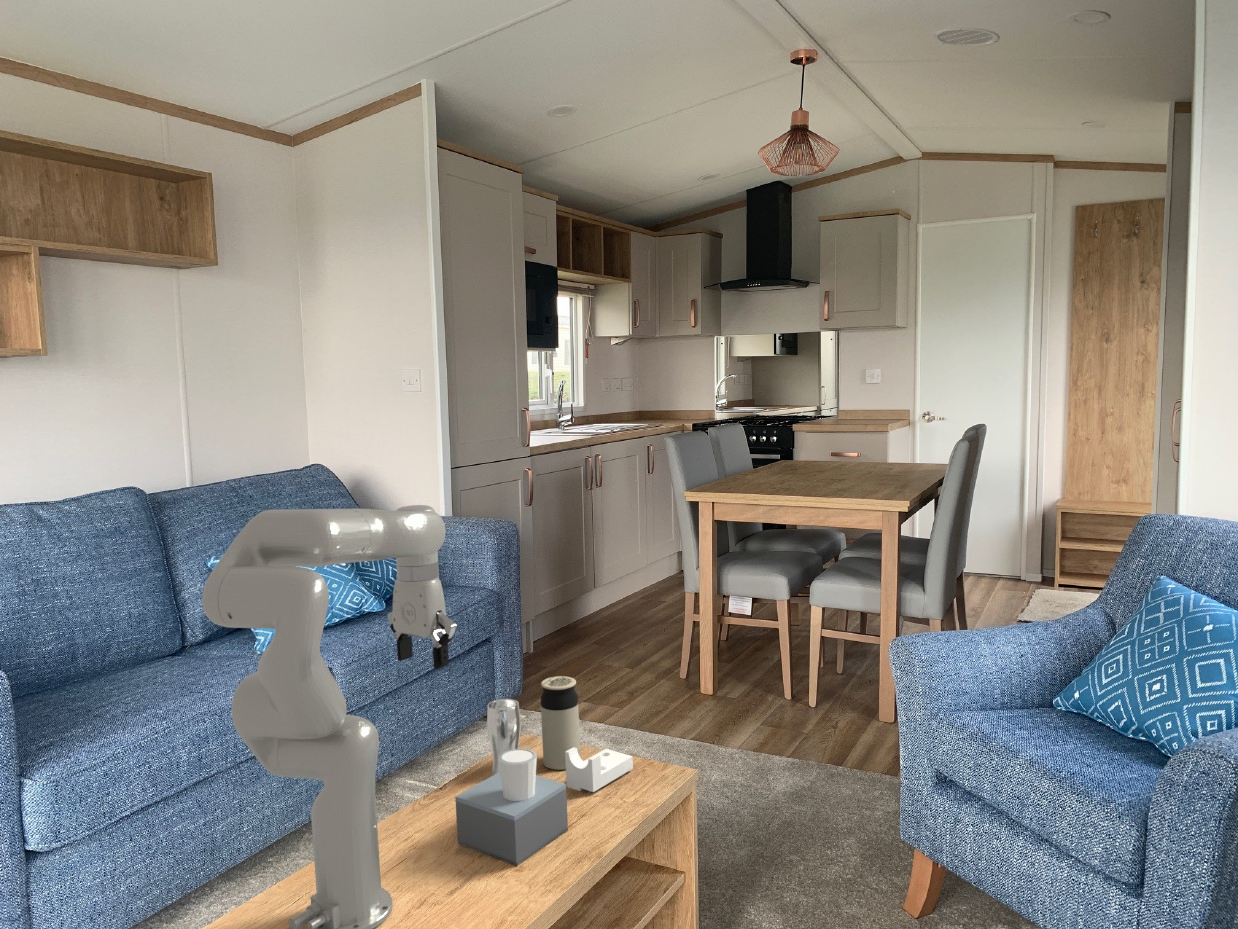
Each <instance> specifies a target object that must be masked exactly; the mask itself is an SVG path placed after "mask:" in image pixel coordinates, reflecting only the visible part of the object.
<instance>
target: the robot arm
mask: <svg viewBox="0 0 1238 929" xmlns="http://www.w3.org/2000/svg"><path fill="white" fill-rule="evenodd" d="M446 532H447V531H446V525H445V522H444V520H443V518H442V517H441V515H440V514H439V513H437V512H436V511H435V509H434V508H433V507H432V506H430V505H425V504H417V505H415V504H413V505H406V506H401V507H399V508H397V509H396V510H387V509H385V510H383V509H372V508H310V509H309V508H307V509H306V508H305V509H304V508H303V509H301V508H298V509H297V508H296V509H294V508H293V509H292V508H291V509H287V508H286V509H279V508H278V509H266V510H263V511H261V512H259V513H257V514H256V515H255V516H253V517H252V518H251V519H250V520H249V521H248V522H247V523H246V524H245V526H244V527H243V528H241V530H240V531H239V533H238V534H237V535H236V537H235V538H234V540H233V541H232V542H231V543H230V545H229V546H228V548H227V549H226V551H225V552H224V553H223V555H222V557H221V558H220V559H219V561H218V562H217V563H216V565H215V566H214V568H213V569H212V571H211V572H210V574H209V576H208V578H207V579H206V581H205V584H204V587H203V590H202V599H201V601H202V602H201V604H202V608H203V612H204V615H205V616H206V617H207V619H209V621H211V622H212V623H214V624H215V625H216V626H220V627H224V628H232V629H233V628H235V629H239V628H241V629H264V630H265V629H266V630H267V629H268V630H270V629H271V630H273V629H274V630H275V632H274V634H273V637H272V639H271V641H270V643H269V644H268V646H267V647H266V648H265V649H264V651H263V653H262V654H261V657H260V659H259V661H258V665H257V671H256V672H253V673H250V674H249V675H247V676H246V677H244V678H243V679H242V680H241V681H240V682H239V684H238V685H237V687H236V688H235V690H234V693H233V696H232V700H231V717H232V722H233V725H234V728H235V730H236V732H237V734H238V736H239V737H240V739H241V740H242V741H243V742H244V744H245V745H246V746H247V748H248V749H249V750H250V752H251V753H252V754H253V756H254V757H255V758H256V760H258V762H259V763H260V764H261V766H262V767H263V768H264V769H265V770H266V771H267V772H269V773H270V774H272V775H274V776H278V777H283V778H295V779H296V778H297V779H298V778H299V779H312V780H318V781H321V782H323V783H324V784H323V788H322V790H321V791H320V792H319V793H318V795H317V796H316V798H315V799H314V801H313V803H312V805H311V816H310V817H311V828H312V844H313V846H312V847H313V859H314V874H315V875H314V876H315V888H316V889H315V890H316V893H315V894H313V895H311V896H310V899H309V900H310V904H309V905H308V906H306V908H305V910H304V911H302V912H300V913H298V914H296V915H295V916H293V917H291V918H290V919H288V927H289V928H290V929H302V928H303V927H305V926H307V929H375V928H377V927H378V926H380V925H381V924H382V923H383V922H384V921H385V920H386V919H387V918H388V917H389V916H390V914H391V912H392V910H393V896H392V895H391V893H390V892H389V891H388V890H387V889H385V888H383V887H382V879H381V865H380V849H379V848H380V847H379V846H380V845H379V829H378V814H377V812H378V811H377V801H376V800H377V799H376V798H377V796H376V774H377V773H376V772H377V766H378V765H377V763H378V757H379V756H378V755H379V747H380V739H379V738H380V736H379V732H378V730H377V727H376V726H375V725H374V724H373V723H372V722H371V721H370V720H368V719H366V718H365V717H362V716H358V715H353V714H352V715H351V714H347V702H346V699H345V696H344V694H343V692H342V690H341V687H340V686H339V683H338V682H337V681H336V679H335V677H334V675H333V674H332V672H331V671H330V669H329V668H328V665H327V664H326V663H325V661H324V658H323V656H322V655H321V651H320V650H321V642H322V637H323V632H324V627H325V623H326V618H327V612H328V609H329V603H330V595H329V594H330V593H329V588H328V584H327V582H326V580H325V578H324V577H323V576H322V575H321V574H320V573H318V572H317V571H315V570H312V569H309V567H310V568H312V567H313V568H315V567H316V568H317V567H326V566H335V565H340V564H342V565H343V564H350V563H351V564H352V563H359V562H360V563H362V562H374V561H375V562H377V561H383V560H390V559H395V560H396V562H395V563H396V578H397V579H395V580H394V586H393V594H392V611H391V612H390V611H389V613H387V615H386V616H387V619H388V622H389V626H390V630H391V631H392V632H393V637H394V639H395V640H396V652H397V653H396V654H397V660H398V661H400V662H402V661H405V660H408V659H411V658H413V655H414V654H413V653H414V652H413V638H412V637H420V638H428V637H429V638H430V640H431V641H432V643H433V644H434V647H432V656H433V657H432V659H433V662H432V663H433V669H435V670H439V669H442V668H444V667H446V666H448V665H449V645H450V644H451V641H452V640H453V638H454V634H455V631H456V628H457V624H456V622H454V621H453V620H452V619H450V617H448V616H447V612H446V611H447V610H446V602H445V596H444V590H443V585H442V581H441V579H440V571H439V554H438V552H439V550H440V549H441V548H442V547H443V545H444V542H445V539H446ZM304 567H305V568H304ZM438 635H439V637H438Z"/></svg>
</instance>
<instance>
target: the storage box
mask: <svg viewBox="0 0 1238 929" xmlns="http://www.w3.org/2000/svg"><path fill="white" fill-rule="evenodd" d="M567 797H568V796H567V788H566V789H564V790H563V791H561V792H559V793H558V794H556V795H555V796H553V797H552V798H550V799H548V800H547V801H545V802H544V803H542V804H540V805H539V806H537V807H536V808H534V809H533V810H531V811H529V812H528V813H526V814H525V815H523V816H522V817H520V818H519V819H517V820H515V821H513V820H510V819H507V818H504V817H502V816H498V815H496V814H493V813H490V812H487V811H484V810H481V809H478V808H475V807H472V806H469V805H466V804H463V803H460V802H457V801H456V800H455V814H456V816H455V817H456V834H457V845H460V846H463V847H465V848H467V849H470V850H472V851H475V852H478V853H481V854H484V855H485V856H488V857H492V858H494V859H497V860H499V861H502V862H504V863H507V864H509V865H512V866H516V867H518V866H519V865H520V864H522V863H524V862H525V861H526V860H528V859H529V858H531V857H532V856H534V855H535V854H537V853H538V852H539V851H541V850H542V849H544V848H545V847H546V846H547V845H549V844H551V843H552V842H553V841H555V840H556V839H558V838H559V837H561V836H562V835H563V834H565V833H567V832H568V831H569V828H568V827H569V822H568V799H567Z"/></svg>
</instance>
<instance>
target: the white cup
mask: <svg viewBox="0 0 1238 929" xmlns="http://www.w3.org/2000/svg"><path fill="white" fill-rule="evenodd" d="M537 756H538V754H537V752H536V751H534V750H532V749H529V748H519V749H512V750H508V751H505V752H503V753H501V754H500V755H499V758H498V760H499V767H500V775H501V782H502V789H503V796H504V798H505V799H507V800H510V801H523V800H527V799H529V798H531V797H533V796H534V794H535V781H536V775H537V760H538V757H537Z"/></svg>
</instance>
